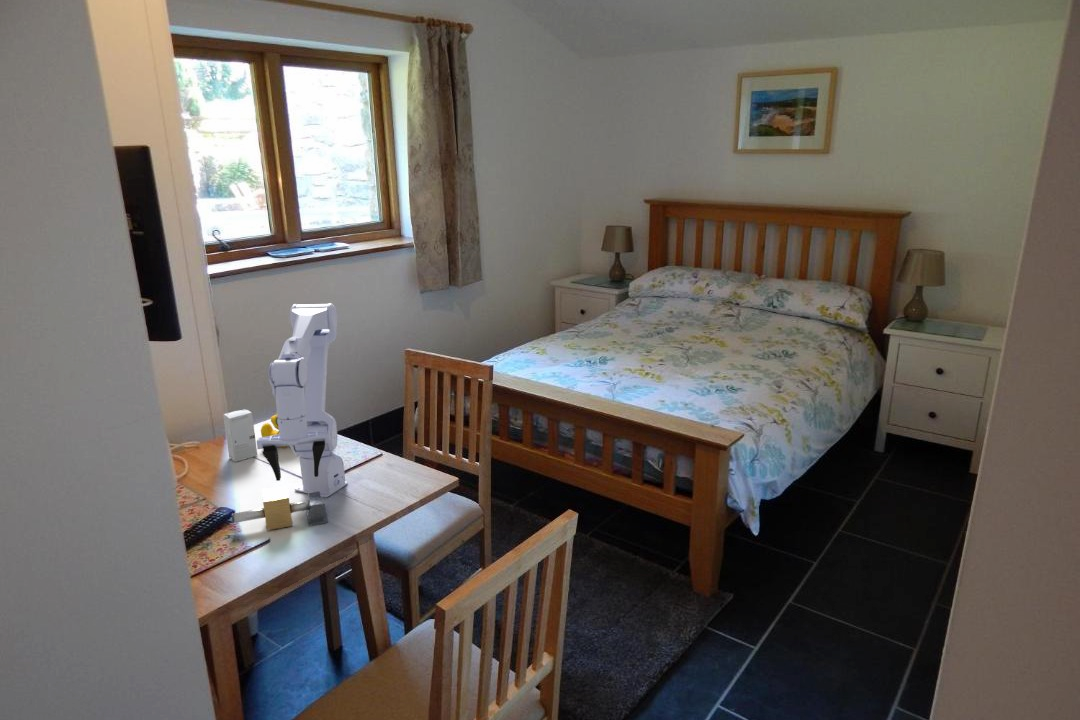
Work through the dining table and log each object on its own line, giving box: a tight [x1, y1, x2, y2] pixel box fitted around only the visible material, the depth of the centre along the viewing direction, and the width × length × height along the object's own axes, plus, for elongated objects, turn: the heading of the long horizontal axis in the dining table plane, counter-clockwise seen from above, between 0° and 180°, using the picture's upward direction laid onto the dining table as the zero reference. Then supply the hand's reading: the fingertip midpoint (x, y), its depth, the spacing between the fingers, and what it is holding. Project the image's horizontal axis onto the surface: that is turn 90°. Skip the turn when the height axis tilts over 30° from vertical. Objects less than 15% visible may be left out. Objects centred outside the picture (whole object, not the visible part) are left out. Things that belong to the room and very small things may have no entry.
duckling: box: [260, 413, 290, 449], centre depth 190 cm, size 11×5×10 cm, turn 85°
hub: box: [262, 485, 293, 531], centre depth 152 cm, size 5×6×7 cm
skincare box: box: [222, 408, 258, 463], centre depth 184 cm, size 6×4×12 cm
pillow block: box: [306, 491, 329, 527], centre depth 155 cm, size 4×8×4 cm, turn 21°
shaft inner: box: [290, 498, 323, 514], centre depth 153 cm, size 9×2×2 cm, turn 111°
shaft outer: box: [231, 507, 265, 524], centre depth 150 cm, size 9×2×2 cm, turn 111°
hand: (297, 477), depth 151 cm, fingers open, 7 cm apart
